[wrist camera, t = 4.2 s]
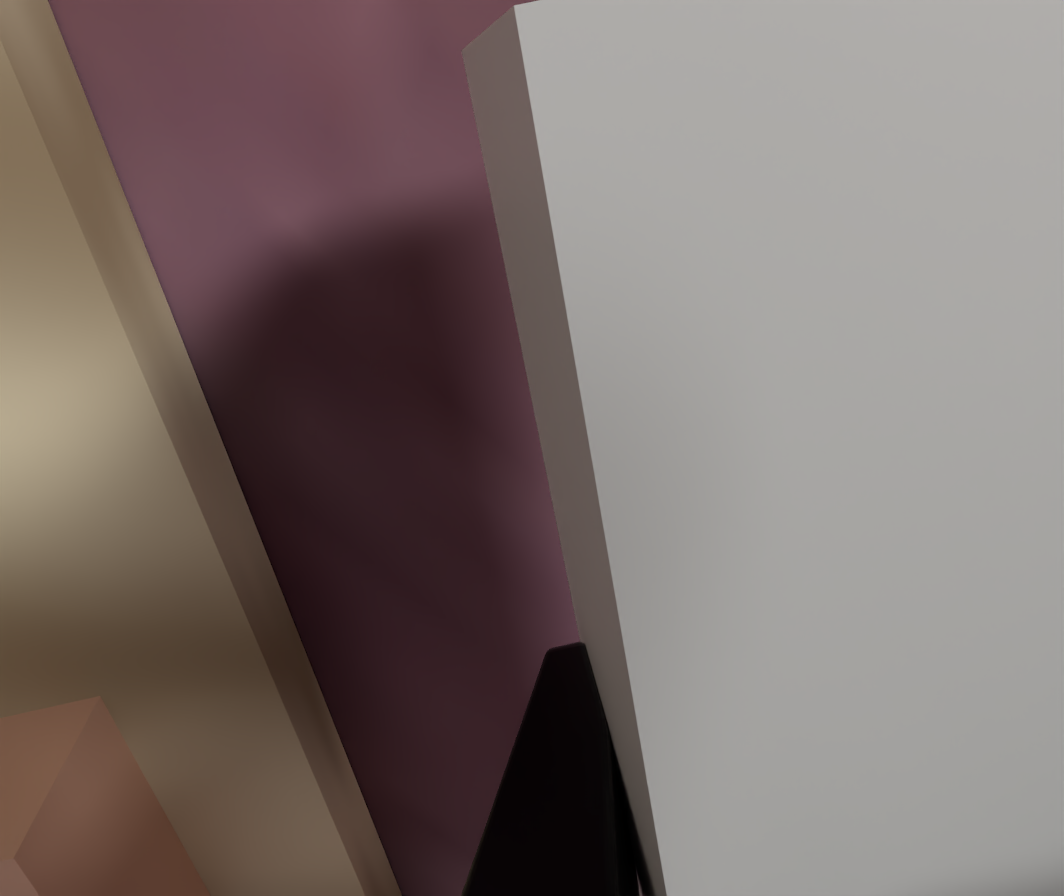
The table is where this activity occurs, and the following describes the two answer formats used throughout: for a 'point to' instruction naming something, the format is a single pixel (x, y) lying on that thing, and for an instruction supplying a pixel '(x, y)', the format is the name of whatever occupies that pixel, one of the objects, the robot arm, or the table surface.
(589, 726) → the robot arm
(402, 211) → the table surface
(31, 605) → the board
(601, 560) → the long grey plank
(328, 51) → the table surface
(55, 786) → the tile
